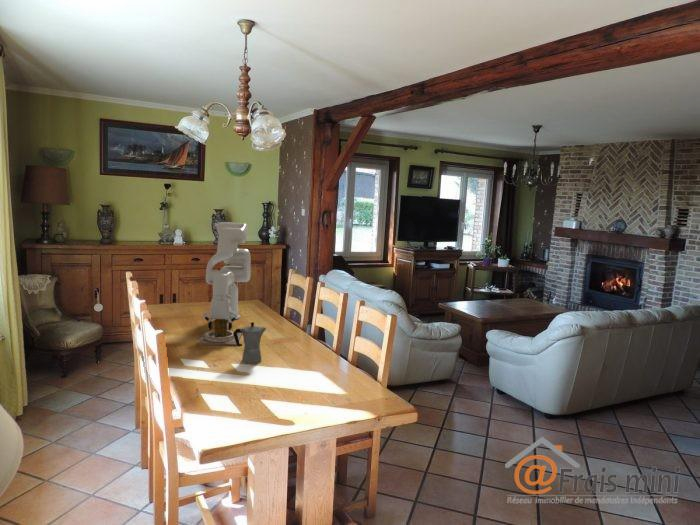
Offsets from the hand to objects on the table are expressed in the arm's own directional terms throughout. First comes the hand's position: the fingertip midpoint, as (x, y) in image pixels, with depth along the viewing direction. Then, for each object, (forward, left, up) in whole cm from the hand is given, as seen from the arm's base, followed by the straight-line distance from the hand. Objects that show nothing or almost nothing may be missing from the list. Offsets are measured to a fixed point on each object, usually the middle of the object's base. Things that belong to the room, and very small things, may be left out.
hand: (220, 329), depth 254 cm
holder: (0, 0, -5) cm, 5 cm away
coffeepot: (+31, +19, -6) cm, 37 cm away
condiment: (0, 0, -5) cm, 5 cm away
